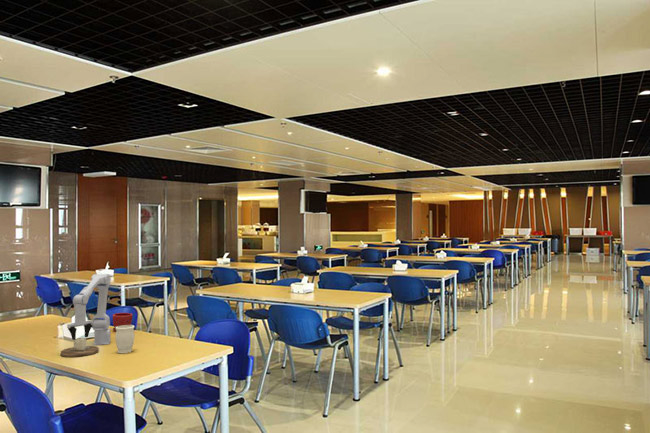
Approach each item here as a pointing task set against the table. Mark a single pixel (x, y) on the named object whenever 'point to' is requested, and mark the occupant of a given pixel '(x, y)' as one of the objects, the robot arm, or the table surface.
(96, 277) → the robot arm
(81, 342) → the beige block
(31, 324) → the table surface
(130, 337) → the jar
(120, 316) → the plant pot
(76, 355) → the turntable
